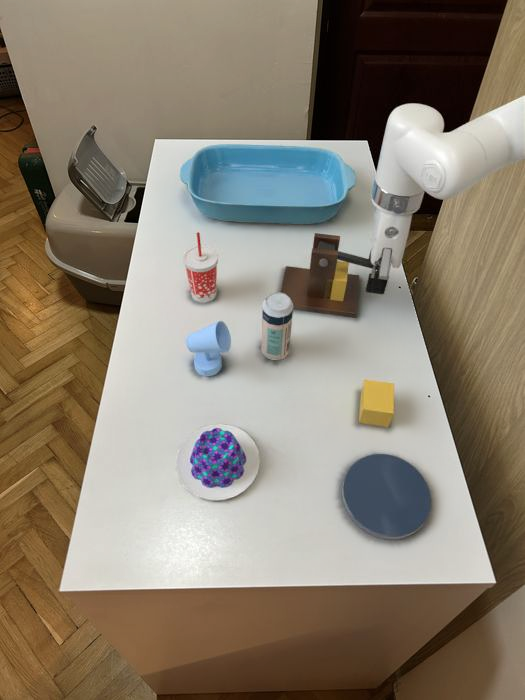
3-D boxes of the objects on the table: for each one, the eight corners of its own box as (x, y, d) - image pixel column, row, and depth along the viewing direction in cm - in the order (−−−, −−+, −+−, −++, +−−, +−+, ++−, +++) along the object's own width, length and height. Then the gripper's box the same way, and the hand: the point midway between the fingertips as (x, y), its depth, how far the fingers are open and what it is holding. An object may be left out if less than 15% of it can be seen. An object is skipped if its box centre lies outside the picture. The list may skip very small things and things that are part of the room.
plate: (427, 464, 77) (429, 460, 76) (430, 546, 70) (432, 543, 69) (345, 451, 78) (346, 447, 77) (338, 531, 71) (340, 528, 70)
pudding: (232, 518, 72) (230, 502, 67) (159, 477, 75) (154, 460, 71) (274, 448, 78) (275, 430, 74) (206, 414, 82) (203, 395, 78)
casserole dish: (346, 173, 123) (351, 144, 118) (356, 234, 109) (362, 205, 104) (188, 169, 123) (185, 141, 118) (177, 231, 109) (173, 201, 104)
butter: (344, 282, 99) (348, 262, 95) (343, 301, 96) (346, 281, 92) (326, 280, 99) (329, 259, 95) (323, 298, 96) (326, 278, 92)
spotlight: (233, 356, 89) (193, 351, 89) (232, 315, 81) (187, 311, 82) (229, 379, 86) (187, 375, 86) (227, 340, 78) (181, 335, 78)
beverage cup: (227, 290, 99) (224, 230, 88) (206, 310, 95) (201, 250, 84) (201, 277, 101) (195, 217, 90) (180, 296, 97) (171, 236, 86)
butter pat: (389, 397, 84) (394, 383, 81) (388, 427, 81) (393, 413, 78) (360, 393, 85) (364, 379, 81) (358, 423, 81) (363, 409, 78)
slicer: (358, 279, 101) (369, 230, 92) (355, 317, 95) (366, 268, 86) (285, 270, 102) (289, 220, 93) (278, 307, 96) (280, 258, 87)
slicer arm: (382, 262, 94) (387, 252, 92) (381, 283, 90) (386, 273, 89) (316, 244, 93) (320, 234, 91) (313, 265, 90) (317, 255, 88)
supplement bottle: (282, 336, 92) (286, 287, 82) (293, 357, 89) (298, 308, 80) (257, 344, 91) (257, 294, 81) (267, 365, 88) (269, 316, 78)
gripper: (424, 231, 74) (396, 318, 88) (422, 163, 85) (397, 250, 99) (370, 225, 75) (351, 312, 89) (374, 158, 85) (356, 245, 99)
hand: (375, 278), depth 94 cm, fingers closed on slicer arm, 5 cm apart
